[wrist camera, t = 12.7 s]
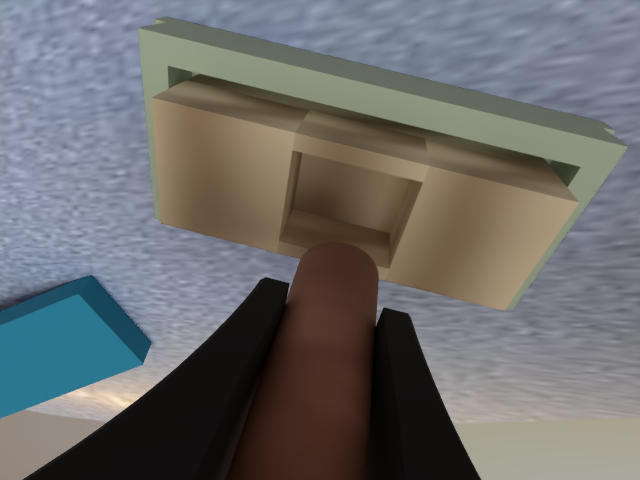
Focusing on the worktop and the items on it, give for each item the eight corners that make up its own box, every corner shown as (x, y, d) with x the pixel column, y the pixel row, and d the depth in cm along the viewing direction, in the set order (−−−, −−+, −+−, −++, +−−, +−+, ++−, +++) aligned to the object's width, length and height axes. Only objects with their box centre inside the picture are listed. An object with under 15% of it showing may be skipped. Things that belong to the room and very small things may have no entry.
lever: (119, 239, 30) (-69, 318, 32) (78, 293, 24) (-152, 387, 25) (168, 302, 33) (-4, 370, 35) (143, 364, 27) (-65, 442, 29)
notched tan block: (540, 153, 15) (579, 202, 12) (485, 250, 18) (504, 310, 15) (202, 71, 15) (151, 97, 12) (202, 179, 18) (160, 223, 15)
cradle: (603, 122, 15) (643, 150, 13) (507, 271, 20) (522, 313, 17) (167, 16, 15) (124, 24, 13) (175, 187, 20) (144, 216, 18)
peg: (391, 259, 11) (386, 585, 5) (361, 313, 12) (328, 616, 6) (310, 230, 10) (210, 529, 5) (289, 289, 12) (191, 573, 6)
